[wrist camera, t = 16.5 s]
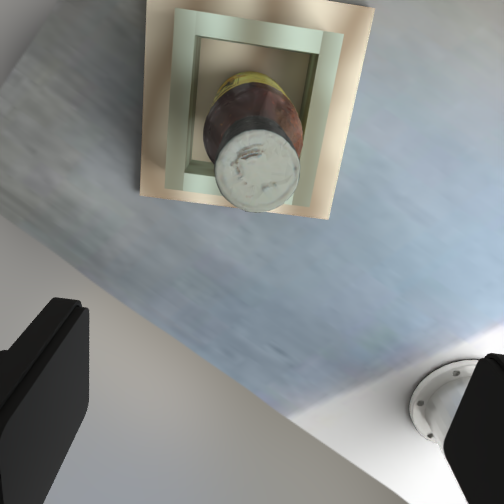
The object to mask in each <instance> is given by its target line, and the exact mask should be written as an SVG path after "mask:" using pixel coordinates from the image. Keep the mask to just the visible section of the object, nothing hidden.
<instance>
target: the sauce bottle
mask: <svg viewBox="0 0 504 504" xmlns="http://www.w3.org/2000/svg"><path fill="white" fill-rule="evenodd" d="M203 142H204V147H205V150H206V153H207V155H208V157H209V159H210V160H211V162H212V163H213V164H214V174H215V180H216V183H217V186H218V188H219V190H220V193H221V194H222V196H223V197H224V198H225V199H226V200H227V201H229V202H230V203H231V204H232V205H234V206H235V207H237V208H239V209H242V210H245V211H247V212H254V213H261V212H266V211H270V210H273V209H275V208H277V207H279V206H281V205H283V204H284V203H285V201H287V200H288V199H289V198H290V197H291V196H292V194H293V193H294V191H295V190H296V187H297V185H298V182H299V178H300V160H299V157H300V154H301V150H302V147H303V131H302V125H301V121H300V119H299V116H298V113H297V111H296V109H295V107H294V105H293V104H292V102H291V101H290V99H289V98H288V97H287V95H286V94H285V93H284V91H283V90H282V88H281V87H280V86H279V85H278V84H277V83H276V82H275V81H274V80H273V79H272V78H270V77H269V76H267V75H265V74H262V73H259V72H252V71H247V72H241V73H238V74H236V75H233V76H231V77H230V78H228V79H227V80H226V81H225V82H224V83H223V84H222V85H221V87H220V88H219V90H218V92H217V94H216V96H215V98H214V100H213V102H212V105H211V107H210V109H209V111H208V114H207V117H206V120H205V123H204V128H203Z"/></svg>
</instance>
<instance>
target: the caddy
mask: <svg viewBox="0 0 504 504" xmlns="http://www.w3.org/2000/svg"><path fill="white" fill-rule="evenodd" d="M374 11H375V8H370V7H364V6H358V5H351V4H345V3H339V2H333V1H327V0H147V8H146V36H145V64H144V92H143V120H142V148H141V176H140V196H147V197H155V198H163V199H171V200H179V201H186V202H194V203H202V204H210V205H218V206H225V207H233V208H237V207H235V206H234V205H232V204H231V203H230V202H229V201H227V200H226V199H225V198H224V197H223V196H222V194H221V193H220V190H219V188H218V186H217V183H216V180H215V174H214V164H213V163H212V162H211V160H210V159H209V157H208V155H207V153H206V150H205V147H204V142H203V128H204V123H205V120H206V117H207V114H208V111H209V109H210V107H211V105H212V102H213V100H214V98H215V96H216V94H217V92H218V90H219V88H220V87H221V85H222V84H223V83H224V82H225V81H226V80H227V79H228V78H230V77H231V76H233V75H236V74H238V73H241V72H247V71H252V72H259V73H262V74H265V75H267V76H269V77H270V78H272V79H273V80H274V81H275V82H276V83H277V84H278V85H279V86H280V87H281V88H282V90H283V91H284V93H285V94H286V95H287V97H288V98H289V99H290V101H291V102H292V104H293V105H294V107H295V109H296V111H297V113H298V116H299V119H300V121H301V125H302V131H303V147H302V150H301V154H300V157H299V160H300V178H299V182H298V185H297V187H296V190H295V191H294V193H293V194H292V196H291V197H290V198H289V199H288V200H287V201H285V203H284V204H283V205H281V206H279V207H277V208H275V209H273V210H270V211H266V212H272V213H280V214H288V215H296V216H303V217H311V218H319V219H327V220H328V219H329V215H330V210H331V206H332V201H333V197H334V192H335V188H336V183H337V179H338V174H339V170H340V165H341V160H342V156H343V151H344V147H345V142H346V138H347V133H348V129H349V124H350V120H351V115H352V111H353V106H354V102H355V97H356V92H357V88H358V83H359V79H360V74H361V70H362V65H363V61H364V56H365V52H366V47H367V43H368V38H369V34H370V29H371V25H372V20H373V15H374Z"/></svg>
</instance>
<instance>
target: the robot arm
mask: <svg viewBox="0 0 504 504" xmlns="http://www.w3.org/2000/svg"><path fill="white" fill-rule="evenodd" d="M88 402H89V309H88V308H84V307H82V305H81V302H80V301H79V300H72V299H65V298H56V297H55V298H53V299H51V300H50V302H49V303H48V304H47V305H46V306H45V307H44V309H43V310H42V311H41V312H40V313H39V315H38V316H37V317H36V318H35V319H34V320H33V321H32V323H31V324H30V325H29V326H28V327H27V328H26V330H25V331H24V332H23V333H22V334H21V336H20V337H19V338H18V339H17V340H16V341H15V343H14V344H13V345H12V346H11V347H10V348H9V350H2V351H0V504H43V503H44V500H45V498H46V496H47V494H48V492H49V490H50V488H51V486H52V484H53V482H54V479H55V477H56V475H57V473H58V471H59V469H60V467H61V465H62V463H63V461H64V459H65V456H66V454H67V452H68V450H69V448H70V446H71V444H72V442H73V440H74V438H75V435H76V433H77V431H78V429H79V427H80V425H81V423H82V421H83V419H84V416H85V414H86V411H87V408H88ZM409 409H410V416H411V419H412V422H413V424H414V426H415V428H416V430H417V431H418V432H419V433H420V434H421V435H422V436H423V437H424V438H426V439H427V440H429V441H431V442H434V443H436V444H438V445H439V447H440V449H441V451H442V453H443V455H444V458H445V460H446V462H447V464H448V466H449V468H450V470H451V472H452V474H453V476H454V478H455V480H456V482H457V484H458V486H459V488H460V490H461V492H462V494H463V496H464V498H465V500H466V502H467V504H504V355H502V354H494V353H490V354H487V355H486V356H485V358H481V359H480V360H464V361H459V362H454V363H451V364H448V365H445V366H443V367H441V368H439V369H437V370H435V371H434V372H432V373H431V374H430V375H428V376H427V377H426V378H425V379H424V380H423V381H422V382H421V383H420V384H419V385H418V386H417V388H416V389H415V391H414V393H413V395H412V397H411V401H410V406H409Z"/></svg>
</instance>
